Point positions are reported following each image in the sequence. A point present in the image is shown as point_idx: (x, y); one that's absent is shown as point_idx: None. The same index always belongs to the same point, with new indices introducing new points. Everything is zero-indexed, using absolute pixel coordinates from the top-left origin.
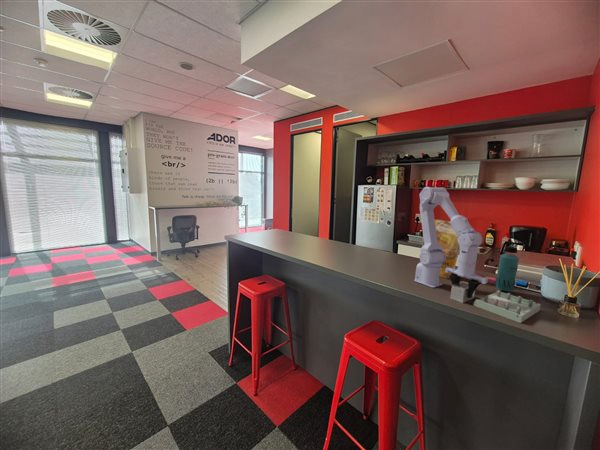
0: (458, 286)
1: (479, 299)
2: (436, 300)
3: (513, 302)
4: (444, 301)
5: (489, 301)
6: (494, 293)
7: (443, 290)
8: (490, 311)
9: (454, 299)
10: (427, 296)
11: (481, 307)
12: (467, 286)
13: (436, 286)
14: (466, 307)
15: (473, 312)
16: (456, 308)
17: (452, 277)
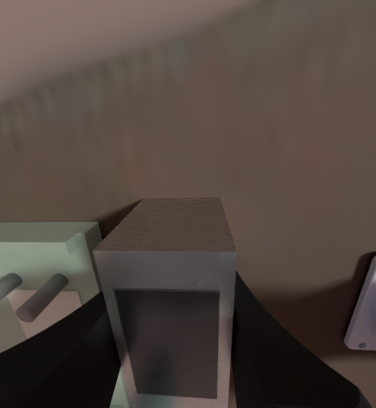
0: (174, 277)
1: (97, 289)
2: (257, 48)
3: None
4: (212, 100)
5: (61, 304)
6: (123, 400)
7: (304, 275)
8: (18, 222)
9: (192, 199)
10: (346, 50)
11: (56, 224)
12: (133, 342)
13: (363, 289)
14: (92, 154)
15: (29, 120)
16: (101, 63)
17: (306, 403)
